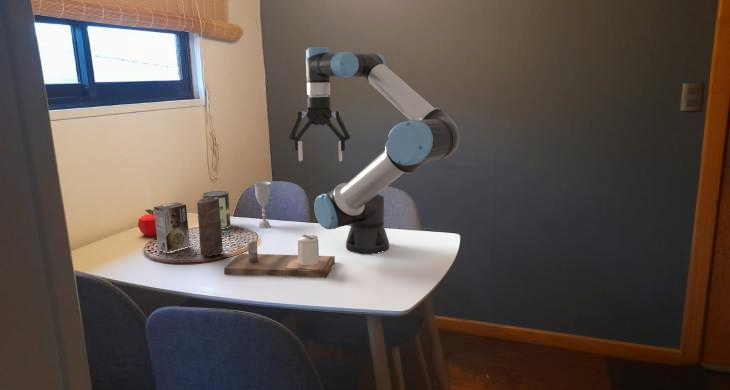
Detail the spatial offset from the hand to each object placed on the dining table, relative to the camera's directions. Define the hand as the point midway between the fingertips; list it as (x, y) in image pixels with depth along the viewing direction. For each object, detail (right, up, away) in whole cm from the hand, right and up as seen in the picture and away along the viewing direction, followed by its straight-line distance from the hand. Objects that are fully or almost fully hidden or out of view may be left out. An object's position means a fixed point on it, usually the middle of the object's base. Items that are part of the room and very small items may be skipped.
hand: (320, 160), depth 177 cm
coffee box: (-53, -31, +10) cm, 62 cm away
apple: (-67, -27, +29) cm, 78 cm away
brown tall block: (-37, -32, +3) cm, 50 cm away
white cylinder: (-3, -33, -11) cm, 34 cm away
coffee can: (-45, -25, +39) cm, 64 cm away
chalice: (-26, -25, +38) cm, 53 cm away
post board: (-12, -35, -10) cm, 38 cm away
